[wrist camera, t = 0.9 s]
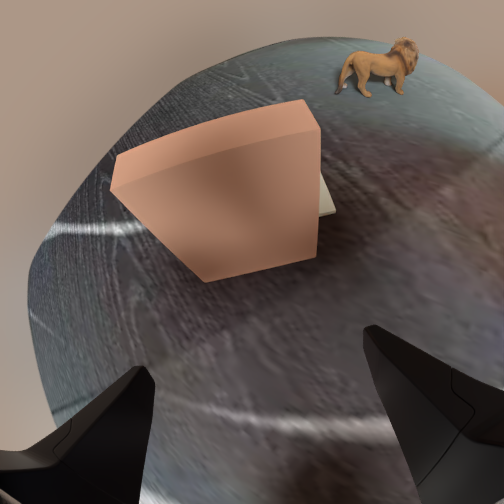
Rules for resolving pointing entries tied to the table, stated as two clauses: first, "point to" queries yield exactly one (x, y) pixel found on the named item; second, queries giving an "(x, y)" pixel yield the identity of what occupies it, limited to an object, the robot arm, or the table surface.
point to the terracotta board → (230, 190)
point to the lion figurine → (381, 65)
